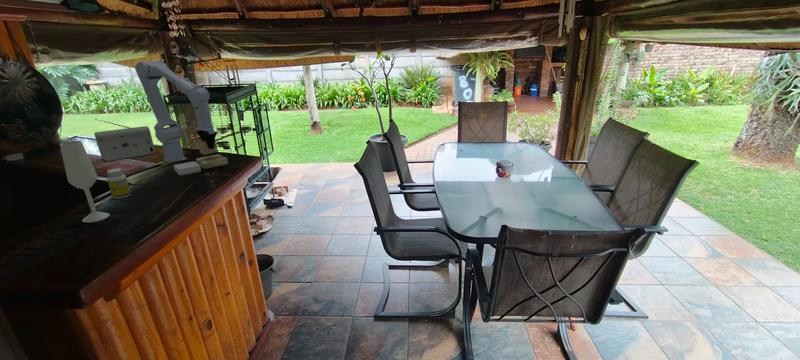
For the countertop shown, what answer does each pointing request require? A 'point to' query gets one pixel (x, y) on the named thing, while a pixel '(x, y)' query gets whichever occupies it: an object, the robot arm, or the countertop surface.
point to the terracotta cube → (205, 148)
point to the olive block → (211, 161)
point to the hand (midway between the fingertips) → (209, 147)
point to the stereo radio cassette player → (124, 142)
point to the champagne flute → (81, 174)
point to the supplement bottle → (118, 183)
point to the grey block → (187, 168)
